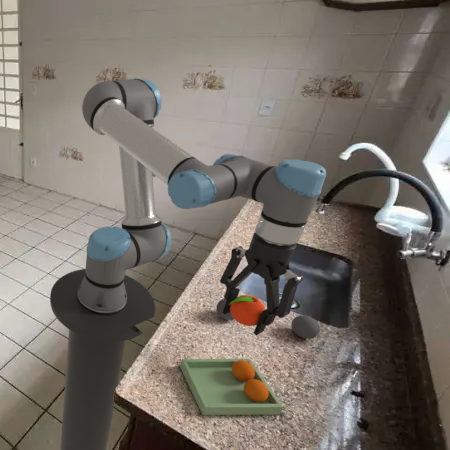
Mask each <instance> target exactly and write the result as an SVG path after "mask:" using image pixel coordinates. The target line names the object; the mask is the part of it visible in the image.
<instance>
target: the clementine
mask: <svg viewBox="0 0 450 450" xmlns="http://www.w3.org/2000/svg"><path fill="white" fill-rule="evenodd" d="M230 304H231V307H230V311H231V314H232V316H233V318H234V320H235V321H236V322H237V323H239V324H241V325H243V326H247V327H254V326H257V323H258V321H259V319H260V316H261V314H262V311H264V310H266V307H265V305H264V303H263V302H262V301H261V300H260V299H259V298H258V297H256V296H254V295H253V296H252V295H249V294H243V295H238V297H237V298H235V299H234V300H233V301H232V302H231V303H230ZM230 304H229V305H230Z"/></svg>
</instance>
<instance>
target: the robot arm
mask: <svg viewBox="0 0 450 450" xmlns="http://www.w3.org/2000/svg"><path fill="white" fill-rule="evenodd" d="M162 103H163V102H162V95H161V91H160V89H159V87H158V86H157V84H155V83H154V82H153V81H152V80H150V79H146V78H136V77H135V78H129V79H118V80H104V81H101V82H98V83H96V84H94V85H93V86H92V87H91V88H89V89H88V91H87V92H86V94H85V95H84V98H83V101H82V106H81V111H82V116H83V119H84V121H85V122H86V124H87V125H88V127H90V129H92V130H93V131H94V132H95V133H96V134H98V135H100V136H106V137H108V138H109V139H110V140H112V141H113V142H114V143H115V144H117V145H118V149H119V158H120V159H119V160H120V169H121V179H122V180H121V182H122V191H123V201H124V202H123V203H124V211H125V216H124V217H123V219H122V220H121V223H120V224H121V227H120V226H112V227H111V226H110V225H109V226H103V227H99V228H97V229H95V230H94V231H93V232H92V233H91V234H90V235H89V237H88V241H87V245H86V260H85V268H84V269H85V276H84V278H83V280H82V283H81V284H80V286H79V288H78V293H77V298H78V301H79V303H80V304H81V306H83V307H84V308H85V309H86V310H88V311H90V312H92V313H95V314H100V315H113V314H116V313H119V312H121V311H122V310H123V309H124V308H125V306H126V303H127V294H126V289H125V285H124V276H125V275H126V271H128V270H130V269H134V268H137V267H140V266H143V265H146V264H149V263H154V262H156V261H158V260H159V259H162V258H164V257H165V256H166V255H167V254H168V253H169V252H170V250H171V247H172V235H171V231H170V229H168V226H167V225H166V224H165V223H163V222H162V217H160V216H159V215H158V214H157V213H156V203H155V191H154V190H155V189H154V178H153V175H155V176H156V177H157V178H159V179H160V180H161V182H164V184H166V185H167V194H168V196H169V197H170V199H171V203H172V204H174V205H175V206H176V207H177V208H179V209H182V210H192V209H198V208H204V207H208V205H212V204H215V203H219V202H223V201H227V200H230V199H234V198H238V197H243V198H246V199H249V200H252V201H254V202H257V203H260V204H263V206H262V209H261V212H260V215H259V218H258V220H257V223H256V226H255V228H254V233H253V234H252V236H251V240H250V242H249V247H248V249H246V248H244V247H243V246H241V245H239V246H237V247H234V248H232V249H231V254H230V259H229V261H228V263H227V265H226V267H225V269H224V271H223V274H222V276H221V277H220V280H219V282H220V284H222V285H224V286H225V289H226V290H225V292H224V295H223V299H225V300H227V301H226V304H225V307H224V309H223V312H222V313H224V314H227V313H229V312H231V311H230V307H231V304H230V303H231V302H232V301H233V300H234V299H235V298H237V297H239V294H240V291H241V289H239V288H238V287H239V286H240V285H241V284H242V283H243V282H244V281H245V280H246V279H247V278H248V277H249V276H250V275H251V274H254V275H256V276H257V275H258V276H259V277H260V278H261V279H263V281H264V282H263V283H264V285H265V294H266V295H265V297H266V308H265V310H264V311H262V314H261V316H260V319H259V321H258V323H257V325H255V329H254V331H253V334H254V335H255V336H258V335H261V334H262V333H263V332H264V331H265V329H266V327H268V326H270V325H272V324H274V321H275V319H276V317H278V318H279V319H283V318H285V317H286V316H288V315H290V313H291V310H292V307H293V302H294V300H295V296H296V292H297V289H298V286H299V284H300V283H301V282H303V280H304V276H303V275H302V274H296V273H295V272H293V271H292V270H290V269H291V268H290V262H291V260H292V259H293V256H294V253H295V251H296V249H297V247H298V243H299V241H300V239H301V237H302V235H303V233H304V230H305V228H306V226H307V223H308V220H309V218H310V216H311V214H312V211H313V209H314V207H315V205H316V202H317V200H318V199H319V196H320V195H321V193H322V188H323V185H324V183H325V179H326V176H327V170H326V168H325V167H324V166H322V165H321V164H318V163H316V162H313V161H309V160H302V159H295V158H293V159H289V158H288V159H283V160H281V161H280V162H279V163H278V164H277V166H276V165H272V164H268V163H265V162H261V161H259V160H254V159H252V158H248V157H246V156H244V155H239V154H238V155H237V154H232V153H225V154H222V155H221V156H220V157H219V158H217V159H216V160H215V161H213V162H214V163H213V164H212V165H207V164H205V163H204V162H203V161H201V160H199V159H198V158H196V157H195V156H193V155H192V154H190V153H189V152H187V151H186V150H184V148H182V147H180V146H179V145H177V144H176V143H174V142H173V141H172V140H170V139H169V138H167V137H166V136H165V135H163V134H162V133H160V132H159V131H158V130H157V129H155V128H154V127H155V118H156V117H157V116H158V115H159V114H160V111H161V109H162ZM244 257H245V260H246V263H247V265H245V267H244V268H242V270H241V271H240V272H239V273H238V274H237V275H236V276H235V277H234V275H235V273H236V271H237V269H238V268H239V266H240V264H241V261H242V259H243V258H244ZM280 276H285V279H284V283H285V284H284V286H283V289H282V293H281V297H280V281H281V277H280ZM229 304H230V305H229Z"/></svg>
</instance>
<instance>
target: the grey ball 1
mask: <svg viewBox="0 0 450 450" xmlns="http://www.w3.org/2000/svg"><path fill="white" fill-rule="evenodd" d="M226 301H227V300H225V299H224V298H222V299H220V300H219V301H218V302H217V304H216V306H215V307H216V312H217V314H218V316H219V317H220V318H222V319H223V320H225V321H226V320H227V321H232V320H235V319H234V318H233V316H232V314H231V312H229V313H227V314H224V313H222V312H223V309H224V307H225V304H226Z"/></svg>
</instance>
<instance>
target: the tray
mask: <svg viewBox="0 0 450 450" xmlns="http://www.w3.org/2000/svg"><path fill="white" fill-rule="evenodd" d="M238 360H244V361H247V362H248V363H250V364H251V365H252V366H253V368H254V370H255V376H254V378H253V379H256V380H259V381H261V382H263V383H264V384H265V385H266V387H267V388H268V391H269V396H268V398H267V399H266V400H265V401H263V402H255V401H252V400H251V399H249V398H248V397H247V396H246V394H245V392H244V384H245V383H246V382H247V381H241V380H239V379H237V378H236V377H235V376H234V375H233V373H232V365H233V363H234V362H236V361H238ZM179 368H180V370H181V372H182V374H183V376H184V378H185V381H186V383H187V385H188V387H189V389H190V391H191V393H192V396H193V398H194V400H195V402H196V404H197V406H198V409H199V410H200V413H201V414H202V415H201V416H233V415H234V416H236V415H237V416H240V415H241V416H242V415H244V416H246V415H248V416H249V415H250V416H251V415H252V416H253V415H254V416H255V415H256V416H257V415H270V416H271V415H281V412H282V411H283V409H284V406H283V404H282V402H281V401H280V399H279V398H278V397H277V396H276V394H275V392H274V391H273V389H272V388H271V387H270V386H269V384H268V383H267V381H266V380H265V378H264V376H263V375H262V374H261V373H260V371H259V370H258V368H257V366H256V365H255V364H254V362H253V361H252V359H251V358H182V359H181V361H180V364H179Z"/></svg>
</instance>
